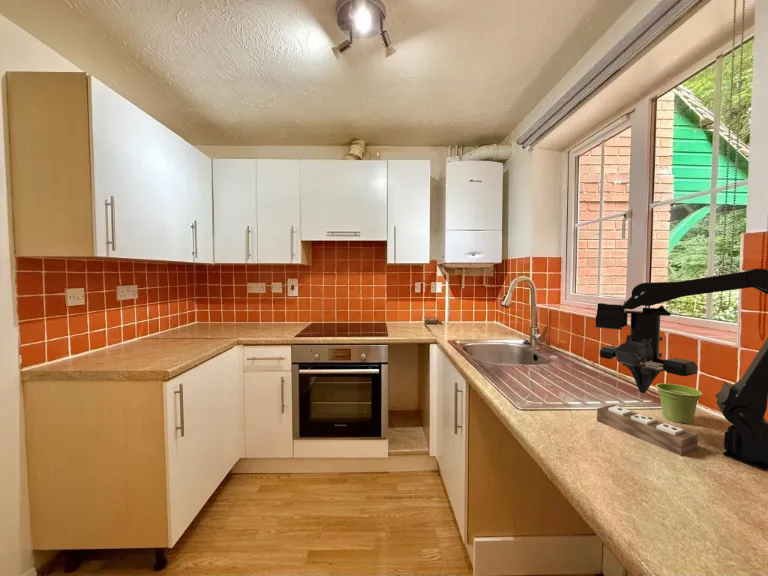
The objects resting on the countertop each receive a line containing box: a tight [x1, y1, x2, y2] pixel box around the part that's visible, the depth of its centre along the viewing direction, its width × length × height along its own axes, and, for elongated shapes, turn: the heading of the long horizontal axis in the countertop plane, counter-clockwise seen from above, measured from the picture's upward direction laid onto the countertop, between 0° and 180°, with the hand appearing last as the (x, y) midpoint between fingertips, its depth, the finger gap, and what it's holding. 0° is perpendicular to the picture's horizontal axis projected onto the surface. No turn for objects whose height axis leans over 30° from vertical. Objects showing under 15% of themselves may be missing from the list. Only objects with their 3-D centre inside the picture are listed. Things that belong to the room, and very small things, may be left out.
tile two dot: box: [656, 422, 684, 436], centre depth 74 cm, size 4×4×3 cm
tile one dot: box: [608, 405, 632, 416], centre depth 84 cm, size 4×4×3 cm
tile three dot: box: [631, 413, 657, 425], centre depth 79 cm, size 4×4×3 cm
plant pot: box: [655, 383, 703, 425], centre depth 87 cm, size 9×9×9 cm
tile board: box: [596, 404, 699, 457], centre depth 79 cm, size 18×7×4 cm, turn 23°
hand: (642, 392), depth 79 cm, fingers closed
